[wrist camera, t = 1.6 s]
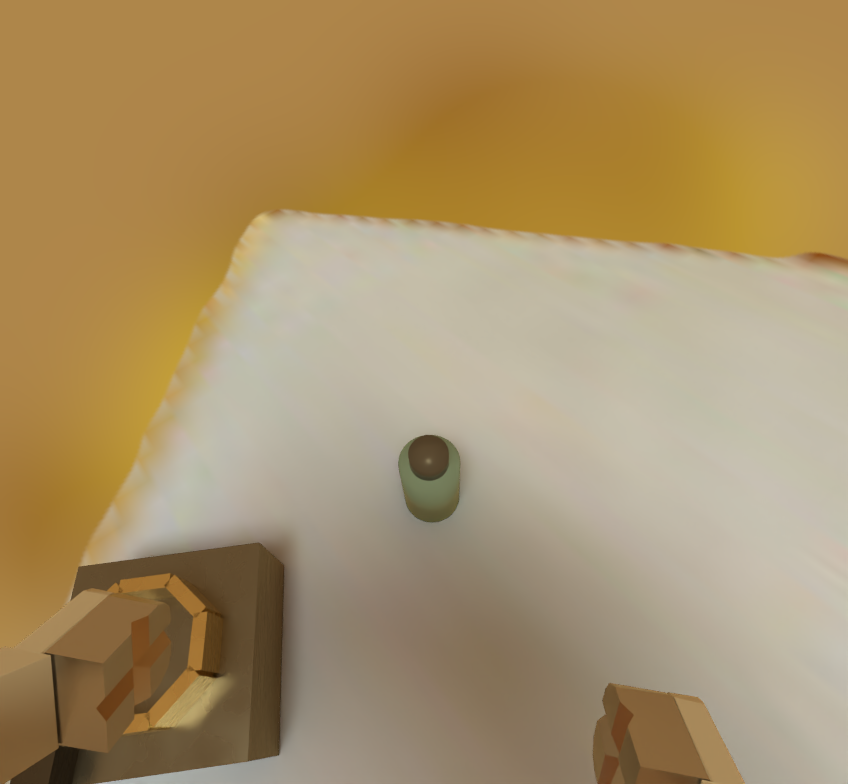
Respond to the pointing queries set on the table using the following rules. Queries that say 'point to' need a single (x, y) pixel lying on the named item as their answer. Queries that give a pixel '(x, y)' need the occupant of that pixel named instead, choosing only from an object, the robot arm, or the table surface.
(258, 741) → the octagon ring base
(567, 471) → the table surface
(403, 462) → the bottle
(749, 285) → the table surface
